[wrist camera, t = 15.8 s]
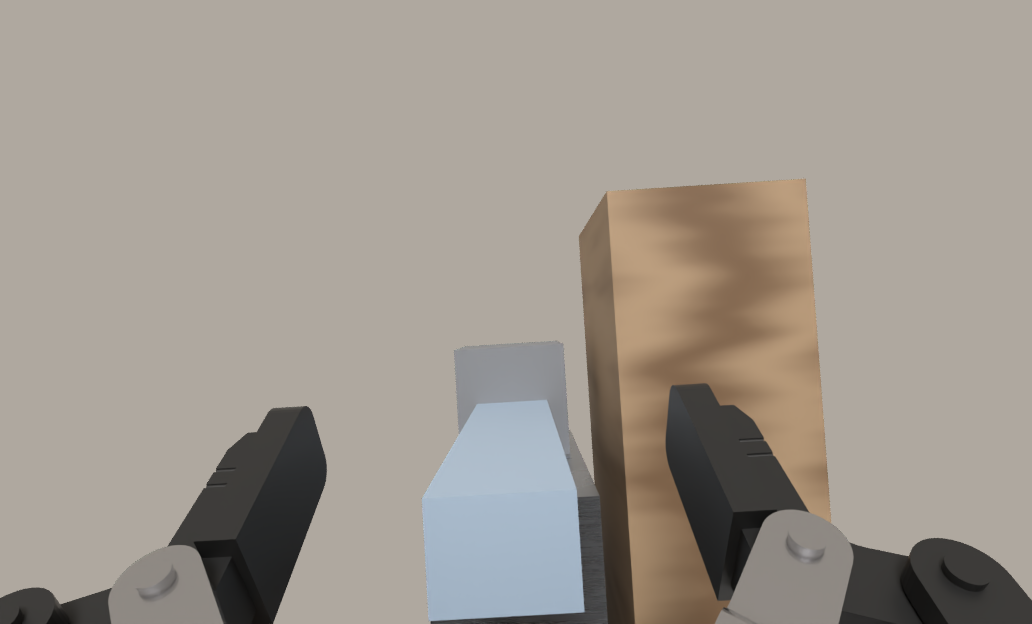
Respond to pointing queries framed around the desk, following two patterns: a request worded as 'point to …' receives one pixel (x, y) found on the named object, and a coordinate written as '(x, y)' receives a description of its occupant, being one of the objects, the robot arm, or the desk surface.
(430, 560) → the block
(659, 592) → the walnut stand
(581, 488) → the tall grey pillar
